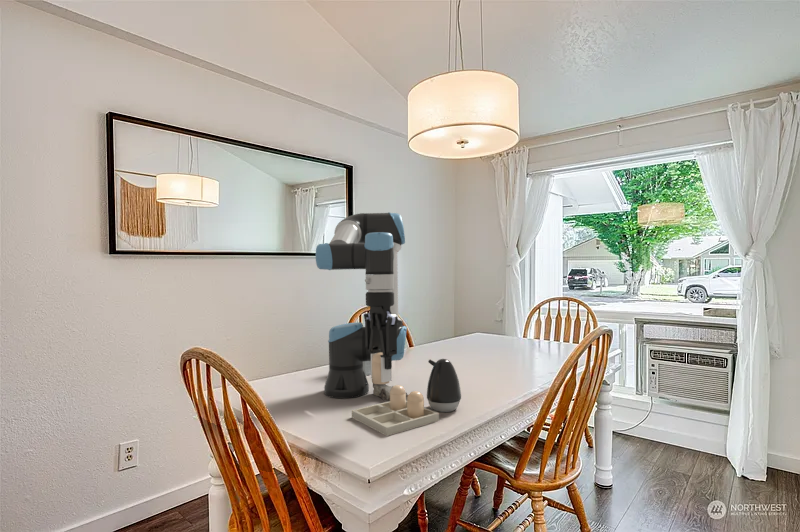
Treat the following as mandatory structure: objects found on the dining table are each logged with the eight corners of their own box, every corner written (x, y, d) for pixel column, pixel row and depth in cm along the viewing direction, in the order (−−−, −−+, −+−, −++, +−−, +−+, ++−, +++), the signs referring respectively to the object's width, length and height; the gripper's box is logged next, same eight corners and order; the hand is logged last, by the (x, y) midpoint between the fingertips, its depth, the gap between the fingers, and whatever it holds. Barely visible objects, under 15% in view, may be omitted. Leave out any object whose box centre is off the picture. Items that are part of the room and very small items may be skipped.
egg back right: (404, 419, 123) (403, 391, 123) (417, 415, 126) (416, 388, 126) (414, 423, 119) (414, 394, 119) (427, 420, 122) (427, 391, 122)
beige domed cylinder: (387, 411, 130) (386, 384, 130) (399, 408, 133) (399, 382, 133) (396, 415, 126) (395, 388, 126) (409, 412, 129) (408, 385, 129)
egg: (368, 381, 118) (368, 352, 118) (383, 379, 121) (383, 350, 121) (377, 385, 114) (377, 354, 114) (392, 382, 117) (392, 352, 117)
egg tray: (351, 419, 125) (351, 410, 125) (401, 406, 136) (401, 398, 136) (387, 437, 111) (386, 427, 111) (439, 422, 122) (439, 413, 122)
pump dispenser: (438, 402, 139) (438, 354, 139) (467, 408, 133) (467, 358, 133) (419, 411, 132) (418, 359, 132) (449, 418, 125) (448, 364, 125)
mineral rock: (413, 402, 140) (413, 388, 140) (391, 407, 136) (391, 392, 136) (390, 392, 153) (390, 379, 153) (369, 395, 149) (369, 382, 149)
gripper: (351, 290, 123) (352, 375, 123) (385, 292, 108) (386, 388, 108) (375, 289, 127) (376, 371, 127) (410, 291, 112) (412, 383, 112)
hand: (381, 379), depth 117 cm, fingers closed on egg, 4 cm apart
